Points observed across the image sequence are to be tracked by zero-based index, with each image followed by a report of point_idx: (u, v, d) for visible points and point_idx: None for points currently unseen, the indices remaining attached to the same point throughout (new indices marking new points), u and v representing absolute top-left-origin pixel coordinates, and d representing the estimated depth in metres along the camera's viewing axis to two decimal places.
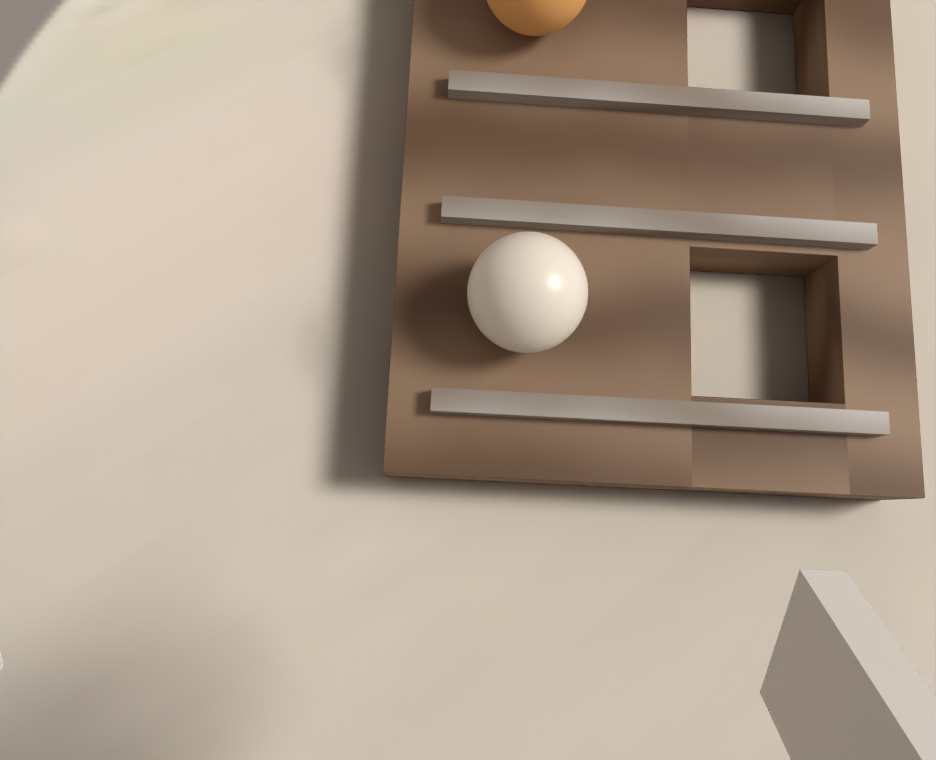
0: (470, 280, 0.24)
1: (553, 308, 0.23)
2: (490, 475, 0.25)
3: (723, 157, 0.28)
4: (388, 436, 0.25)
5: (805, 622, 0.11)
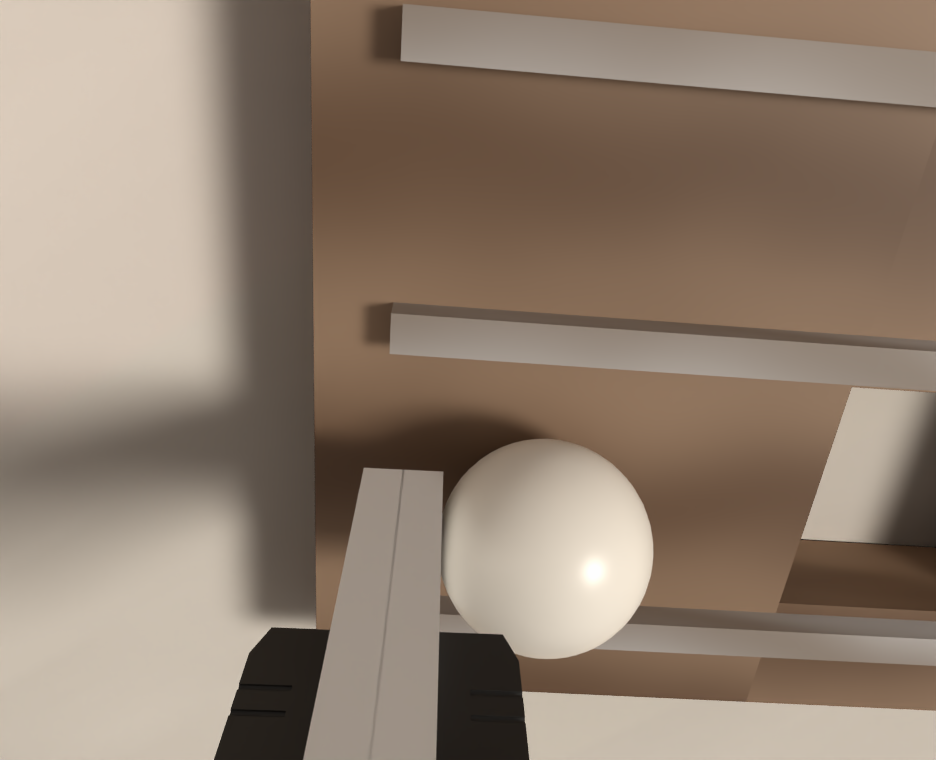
0: (442, 551, 0.13)
1: (585, 650, 0.13)
2: None
3: None
4: None
5: None
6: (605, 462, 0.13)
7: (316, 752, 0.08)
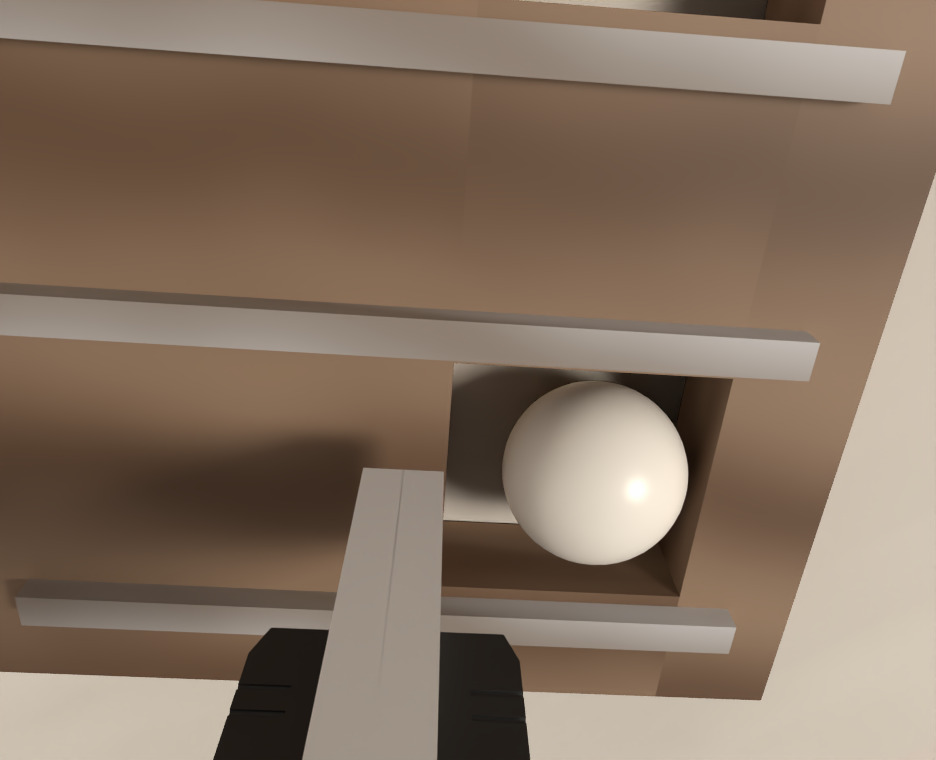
0: None
1: (517, 520, 0.16)
2: (141, 676, 0.18)
3: (542, 178, 0.13)
4: None
5: None
6: (627, 426, 0.15)
7: (315, 752, 0.08)
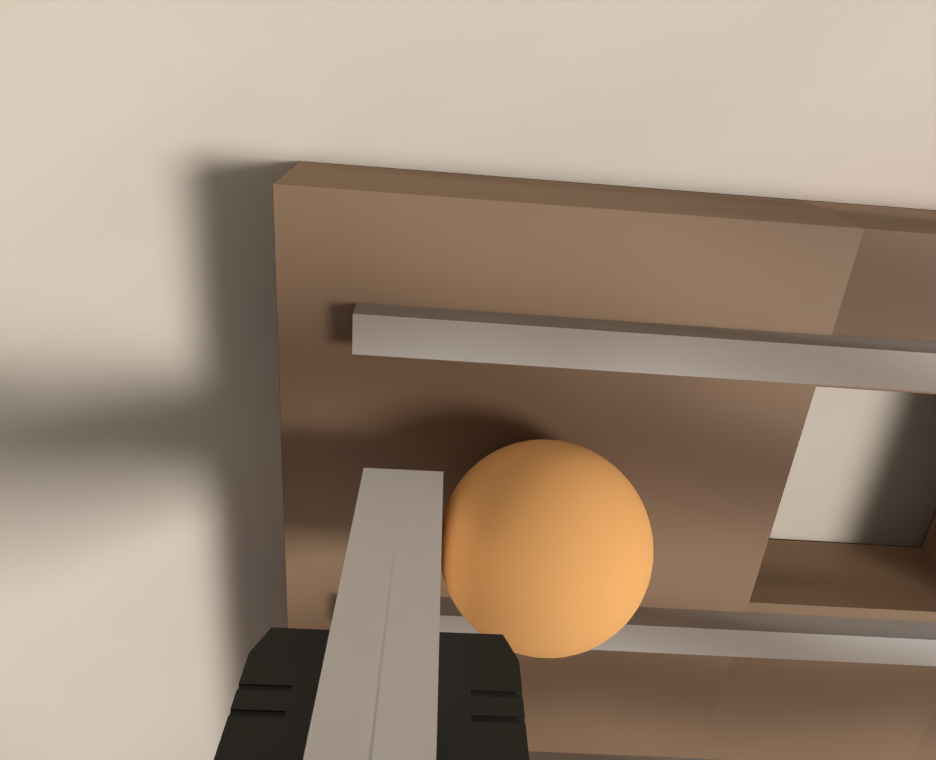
0: None
1: None
2: None
3: (775, 690, 0.18)
4: None
5: None
6: None
7: (316, 752, 0.08)
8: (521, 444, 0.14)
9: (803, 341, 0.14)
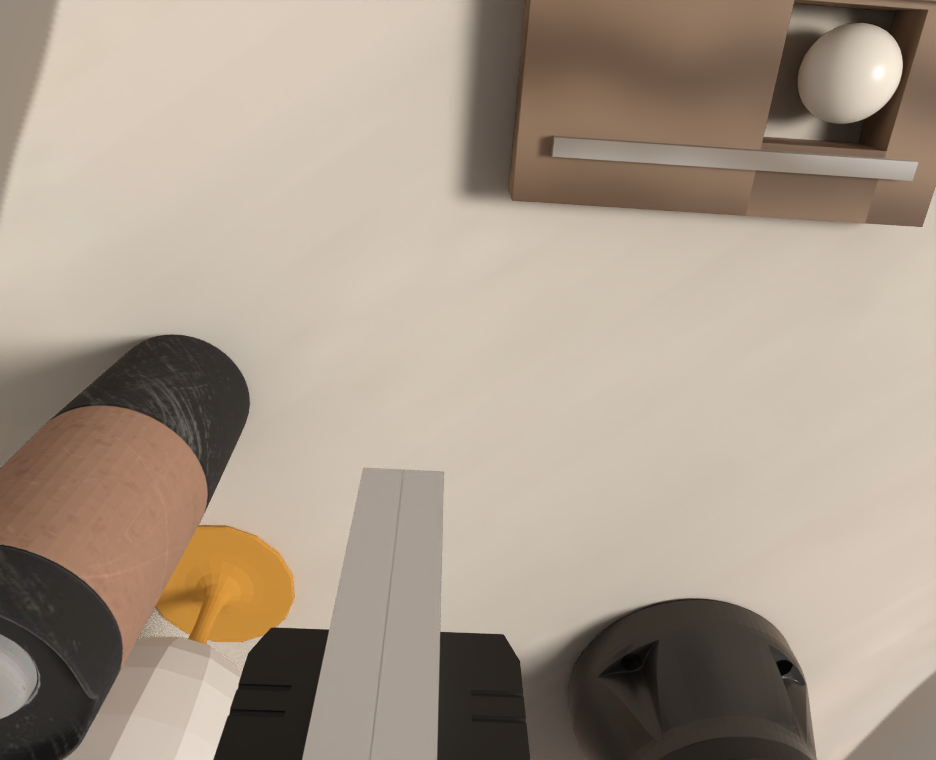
0: None
1: (812, 96, 0.31)
2: (593, 204, 0.33)
3: None
4: (517, 173, 0.33)
5: None
6: (879, 31, 0.30)
7: (315, 752, 0.08)
8: None
9: None
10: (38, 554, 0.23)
